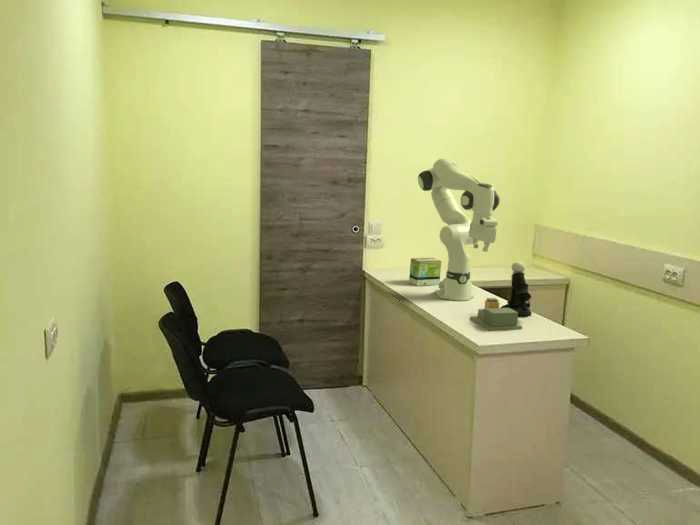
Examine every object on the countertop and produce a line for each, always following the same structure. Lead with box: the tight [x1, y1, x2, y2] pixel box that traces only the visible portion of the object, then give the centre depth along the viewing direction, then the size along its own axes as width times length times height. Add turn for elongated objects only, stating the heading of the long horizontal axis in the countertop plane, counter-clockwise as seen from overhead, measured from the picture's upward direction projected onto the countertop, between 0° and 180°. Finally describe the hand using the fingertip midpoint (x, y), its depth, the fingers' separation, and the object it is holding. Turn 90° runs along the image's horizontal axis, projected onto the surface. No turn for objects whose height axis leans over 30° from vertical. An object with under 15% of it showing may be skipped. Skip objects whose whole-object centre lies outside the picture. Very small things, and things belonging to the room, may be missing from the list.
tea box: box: [408, 257, 442, 287], centre depth 338 cm, size 15×10×15 cm
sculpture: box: [500, 261, 532, 318], centre depth 275 cm, size 15×24×25 cm, turn 179°
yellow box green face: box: [483, 297, 500, 309], centre depth 265 cm, size 4×5×9 cm
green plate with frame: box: [469, 307, 523, 331], centre depth 261 cm, size 18×16×7 cm
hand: (480, 249), depth 269 cm, fingers open, 8 cm apart
